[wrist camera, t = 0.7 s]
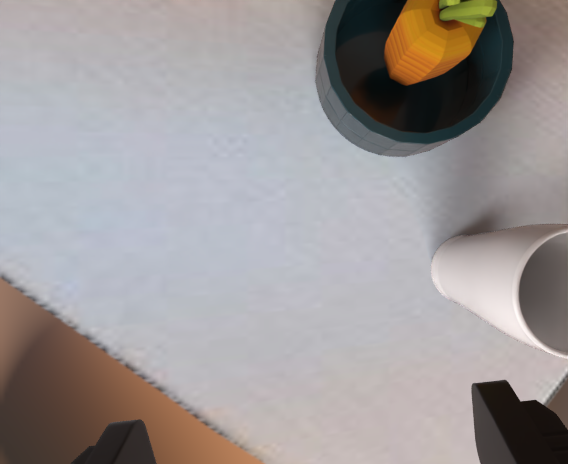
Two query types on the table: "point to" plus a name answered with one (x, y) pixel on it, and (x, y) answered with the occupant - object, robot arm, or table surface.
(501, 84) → the pot
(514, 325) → the drinking glass
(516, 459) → the robot arm
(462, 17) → the carrot
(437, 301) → the table surface
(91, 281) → the table surface
